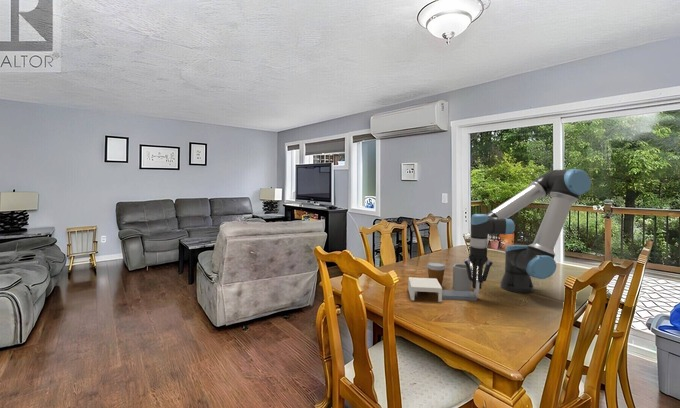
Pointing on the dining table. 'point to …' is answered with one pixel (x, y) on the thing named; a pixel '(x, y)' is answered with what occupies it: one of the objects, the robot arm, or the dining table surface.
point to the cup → (461, 278)
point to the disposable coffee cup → (436, 271)
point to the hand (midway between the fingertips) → (476, 295)
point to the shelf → (424, 286)
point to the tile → (458, 295)
